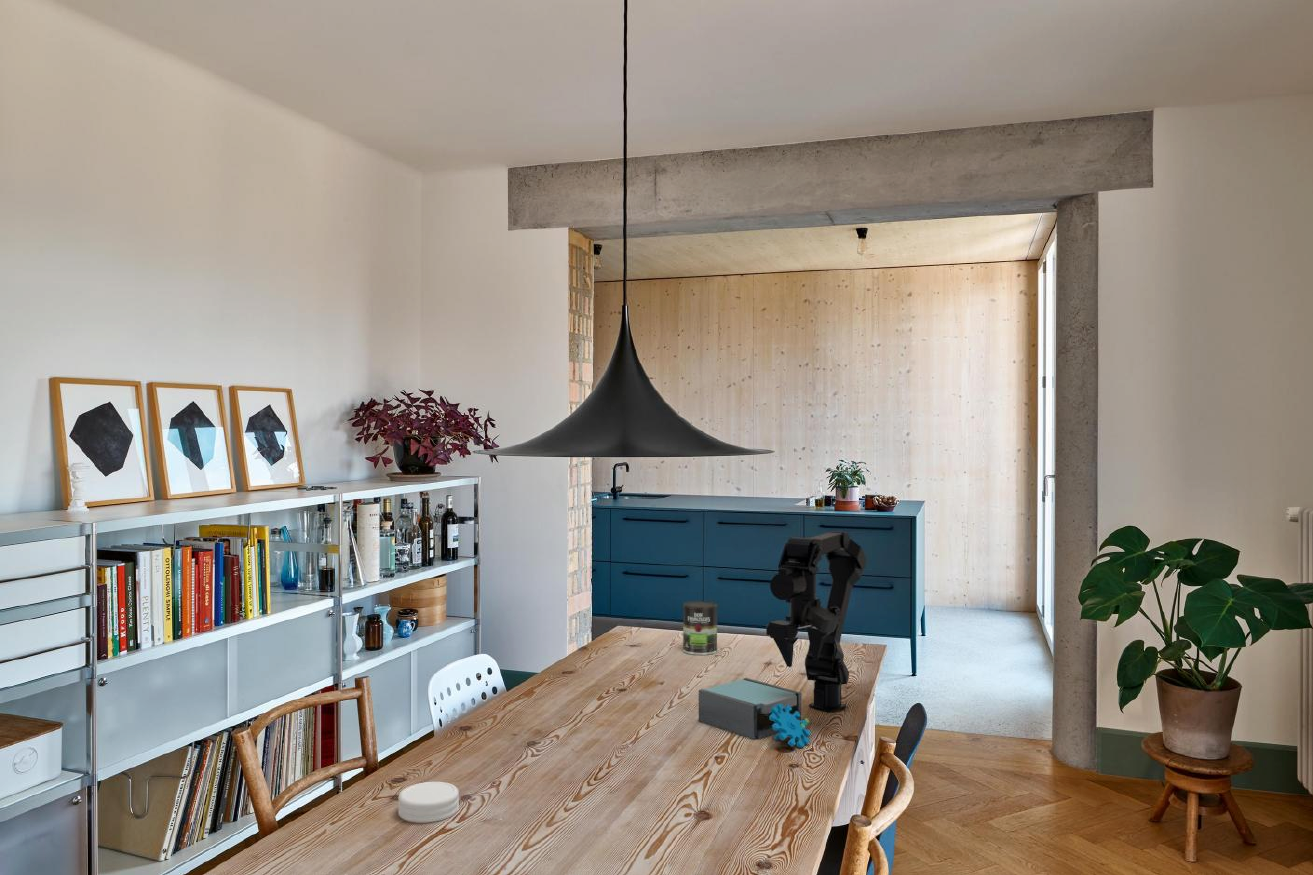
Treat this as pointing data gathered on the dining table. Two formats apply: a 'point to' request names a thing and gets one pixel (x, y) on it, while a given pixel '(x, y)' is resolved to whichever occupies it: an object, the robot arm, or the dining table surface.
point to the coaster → (428, 802)
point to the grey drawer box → (737, 713)
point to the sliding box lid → (756, 694)
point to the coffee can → (700, 627)
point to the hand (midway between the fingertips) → (802, 663)
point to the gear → (789, 725)
